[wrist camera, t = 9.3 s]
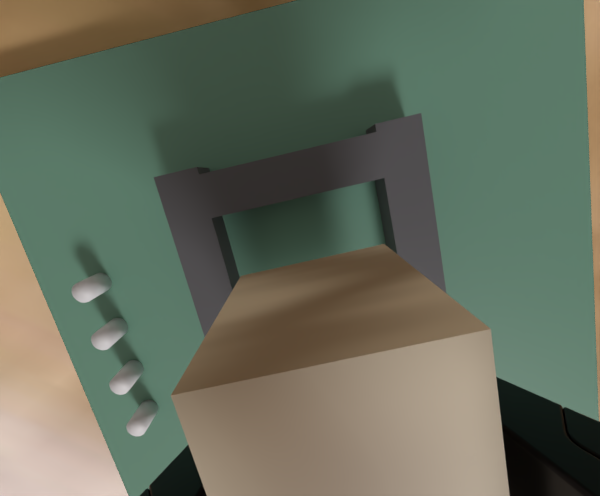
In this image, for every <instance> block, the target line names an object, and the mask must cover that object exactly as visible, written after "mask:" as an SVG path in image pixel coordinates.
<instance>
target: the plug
mask: <svg viewBox="0 0 600 496" xmlns="http://www.w3.org/2000/svg"><path fill="white" fill-rule="evenodd" d="M171 398H172V401H173V403H174V406H175V409H176V412H177V414H178V417H179V420H180V423H181V426H182V428H183V431H184V434H185V437H186V439H187V442H188V445H189V448H190V451H191V453H192V456H193V459H194V462H195V464H196V467H197V470H198V473H199V475H200V478H201V481H202V484H203V487H204V489H205V492H206V495H207V496H510V494H509V485H508V476H507V468H506V459H505V450H504V441H503V432H502V423H501V414H500V405H499V397H498V388H497V379H496V370H495V361H494V352H493V343H492V335H491V329H490V328H489V327H488V326H486V325H485V324H484V323H483V322H481V321H480V320H479V319H478V318H476V317H475V316H474V315H473V314H471V313H470V312H469V311H468V310H466V309H465V308H464V307H463V306H461V305H460V304H459V303H458V302H456V301H455V300H454V299H453V298H451V297H450V296H449V295H448V294H446V293H445V292H444V291H443V290H441V289H440V288H439V287H438V286H436V285H435V284H434V283H433V282H431V281H430V280H429V279H428V278H426V277H425V276H424V275H423V274H421V273H420V272H419V271H418V270H416V269H415V268H414V267H413V266H411V265H410V264H409V263H408V262H406V261H405V260H404V259H403V258H401V257H400V256H399V255H398V254H396V253H395V252H394V251H393V250H391V249H390V248H389V247H388V246H386V245H385V244H381V245H377V246H372V247H368V248H364V249H359V250H355V251H350V252H346V253H341V254H337V255H332V256H328V257H323V258H319V259H314V260H310V261H305V262H301V263H296V264H292V265H288V266H283V267H279V268H274V269H270V270H265V271H261V272H256V273H252V274H247V275H243V276H241V277H240V278H239V280H238V282H237V283H236V285H235V287H234V288H233V290H232V292H231V294H230V295H229V297H228V299H227V300H226V302H225V304H224V306H223V307H222V309H221V311H220V312H219V314H218V316H217V317H216V319H215V321H214V323H213V324H212V326H211V328H210V329H209V331H208V333H207V335H206V336H205V338H204V340H203V341H202V343H201V345H200V346H199V348H198V350H197V352H196V353H195V355H194V357H193V358H192V360H191V362H190V364H189V365H188V367H187V369H186V370H185V372H184V374H183V375H182V377H181V379H180V381H179V382H178V384H177V386H176V387H175V389H174V391H173V393H172V394H171Z"/></svg>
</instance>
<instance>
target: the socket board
mask: <svg viewBox="0 0 600 496" xmlns="http://www.w3.org/2000/svg"><path fill="white" fill-rule="evenodd" d="M0 193H1V195H2V198H3V200H4V203H5V205H6V207H7V210H8V212H9V214H10V217H11V219H12V221H13V224H14V226H15V228H16V231H17V233H18V236H19V238H20V240H21V243H22V245H23V247H24V250H25V252H26V254H27V257H28V259H29V262H30V264H31V266H32V269H33V271H34V273H35V276H36V278H37V280H38V283H39V285H40V287H41V290H42V292H43V295H44V297H45V299H46V302H47V304H48V306H49V309H50V311H51V313H52V316H53V318H54V320H55V323H56V325H57V328H58V330H59V332H60V335H61V337H62V339H63V342H64V344H65V346H66V349H67V351H68V353H69V356H70V358H71V361H72V363H73V365H74V368H75V370H76V372H77V375H78V377H79V379H80V382H81V384H82V386H83V389H84V391H85V394H86V396H87V398H88V401H89V403H90V405H91V408H92V410H93V412H94V415H95V417H96V420H97V422H98V424H99V427H100V429H101V431H102V434H103V436H104V438H105V441H106V443H107V445H108V448H109V450H110V453H111V455H112V457H113V460H114V462H115V464H116V467H117V469H118V471H119V474H120V476H121V478H122V481H123V483H124V486H125V488H126V490H127V493H128V495H129V496H140V495H141V494H142V493H143V491H144V490H145V489H147V488H148V489H149V485H150V484H151V483H152V482H153V481H154V480H155V479H156V478H157V477H158V476H159V475H160V474H161V473H162V472H163V470H164V469H165V468H166V467H167V466H168V465H169V464H170V463H171V462H172V461H173V460H174V459H175V458H176V457H177V456H178V455H179V454H180V453H181V452H182V450H183V449H184V448H185V447H186V446H187V445H188V442H187V439H186V437H185V434H184V431H183V428H182V426H181V423H180V420H179V417H178V414H177V412H176V409H175V406H174V403H173V401H172V398H171V394H172V393H173V391H174V389H175V387H176V386H177V384H178V382H179V381H180V379H181V377H182V375H183V374H184V372H185V370H186V369H187V367H188V365H189V364H190V362H191V360H192V358H193V357H194V355H195V353H196V352H197V350H198V348H199V346H200V345H201V343H202V341H203V340H204V338H205V336H206V335H207V333H208V331H209V329H210V328H211V326H212V324H213V323H214V321H215V319H216V317H217V316H218V314H219V312H220V311H221V309H222V307H223V306H224V304H225V302H226V300H227V299H228V297H229V295H230V294H231V292H232V290H233V288H234V287H235V285H236V283H237V282H238V280H239V278H240V277H241V276H243V275H247V274H252V273H256V272H261V271H265V270H270V269H274V268H279V267H283V266H288V265H292V264H296V263H301V262H305V261H310V260H314V259H319V258H323V257H328V256H332V255H337V254H341V253H346V252H350V251H355V250H359V249H364V248H368V247H372V246H377V245H381V244H385V245H386V246H388V247H389V248H390V249H391V250H393V251H394V252H395V253H396V254H398V255H399V256H400V257H401V258H403V259H404V260H405V261H406V262H408V263H409V264H410V265H411V266H413V267H414V268H415V269H416V270H418V271H419V272H420V273H421V274H423V275H424V276H425V277H426V278H428V279H429V280H430V281H431V282H433V283H434V284H435V285H436V286H438V287H439V288H440V289H441V290H443V291H444V292H445V293H446V294H448V295H449V296H450V297H451V298H453V299H454V300H455V301H456V302H458V303H459V304H460V305H461V306H463V307H464V308H465V309H466V310H468V311H469V312H470V313H471V314H473V315H474V316H475V317H476V318H478V319H479V320H480V321H481V322H483V323H484V324H485V325H486V326H488V327H489V328H490V329H491V335H492V343H493V352H494V361H495V370H496V377H498V378H500V379H503V380H505V381H507V382H510V383H512V384H514V385H516V386H519V387H521V388H523V389H526V390H528V391H530V392H532V393H535V394H537V395H539V396H542V397H544V398H546V399H548V400H551V401H553V402H555V403H557V404H560V405H561V406H562V407H563V408H564V407H567V408H569V409H571V410H574V411H576V412H578V413H581V414H583V415H585V416H587V417H590V418H592V419H595V420H597V421H599V415H598V388H597V360H596V332H595V305H594V277H593V249H592V221H591V194H590V166H589V138H588V111H587V83H586V55H585V28H584V0H296V1H292V2H288V3H284V4H281V5H277V6H273V7H269V8H265V9H261V10H258V11H254V12H250V13H246V14H242V15H238V16H235V17H231V18H227V19H223V20H219V21H215V22H212V23H208V24H204V25H200V26H196V27H192V28H188V29H185V30H181V31H177V32H173V33H169V34H165V35H162V36H158V37H154V38H150V39H146V40H142V41H139V42H135V43H131V44H127V45H123V46H119V47H116V48H112V49H108V50H104V51H100V52H96V53H93V54H89V55H85V56H81V57H77V58H73V59H69V60H66V61H62V62H58V63H54V64H50V65H46V66H43V67H39V68H35V69H31V70H27V71H23V72H20V73H16V74H12V75H8V76H4V77H0Z"/></svg>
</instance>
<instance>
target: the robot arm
mask: <svg viewBox="0 0 600 496" xmlns="http://www.w3.org/2000/svg"><path fill="white" fill-rule="evenodd" d="M496 379H497V388H498V397H499V405H500V414H501V423H502V432H503V441H504V450H505V459H506V468H507V476H508V485H509V494H510V496H600V422H599V421H597V420H595V419H592V418H590V417H587V416H585V415H583V414H581V413H578V412H576V411H574V410H571V409H569V408H567V407H564V408H563V407H562V406H561V405H560V404H557V403H555V402H553V401H551V400H548V399H546V398H544V397H542V396H539V395H537V394H535V393H532V392H530V391H528V390H526V389H523V388H521V387H519V386H516V385H514V384H512V383H510V382H507V381H505V380H503V379H500V378H498V377H496ZM140 496H207V495H206V492H205V489H204V487H203V484H202V481H201V478H200V475H199V473H198V470H197V467H196V464H195V462H194V459H193V456H192V453H191V451H190V448H189V445H187V446H186V447H185V448H184V449H183V450H182V452H181V453H180V454H179V455H178V456H177V457H176V458H175V459H174V460H173V461H172V462H171V463H170V464H169V465H168V466H167V467H166V468H165V469H164V470H163V472H162V473H161V474H160V475H159V476H158V477H157V478H156V479H155V480H154V481H153V482H152V483H151V484H150V485H149V489H148V488H147V489H145V490H144V491H143V493H142V494H141V495H140Z"/></svg>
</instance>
